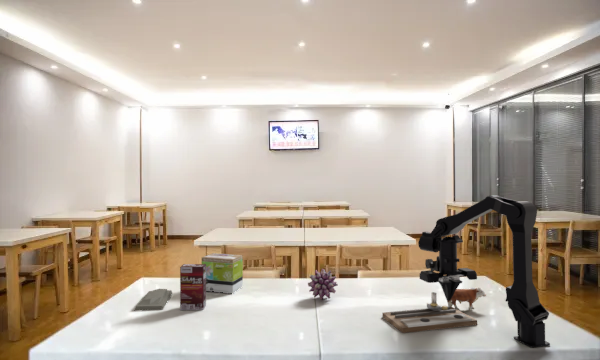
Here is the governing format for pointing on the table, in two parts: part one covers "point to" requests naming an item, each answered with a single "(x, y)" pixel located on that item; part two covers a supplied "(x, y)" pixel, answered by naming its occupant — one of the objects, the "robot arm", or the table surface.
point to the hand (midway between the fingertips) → (448, 300)
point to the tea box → (223, 272)
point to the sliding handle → (434, 303)
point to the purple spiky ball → (322, 284)
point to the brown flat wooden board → (428, 319)
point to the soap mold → (154, 300)
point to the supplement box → (192, 286)
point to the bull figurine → (466, 296)
